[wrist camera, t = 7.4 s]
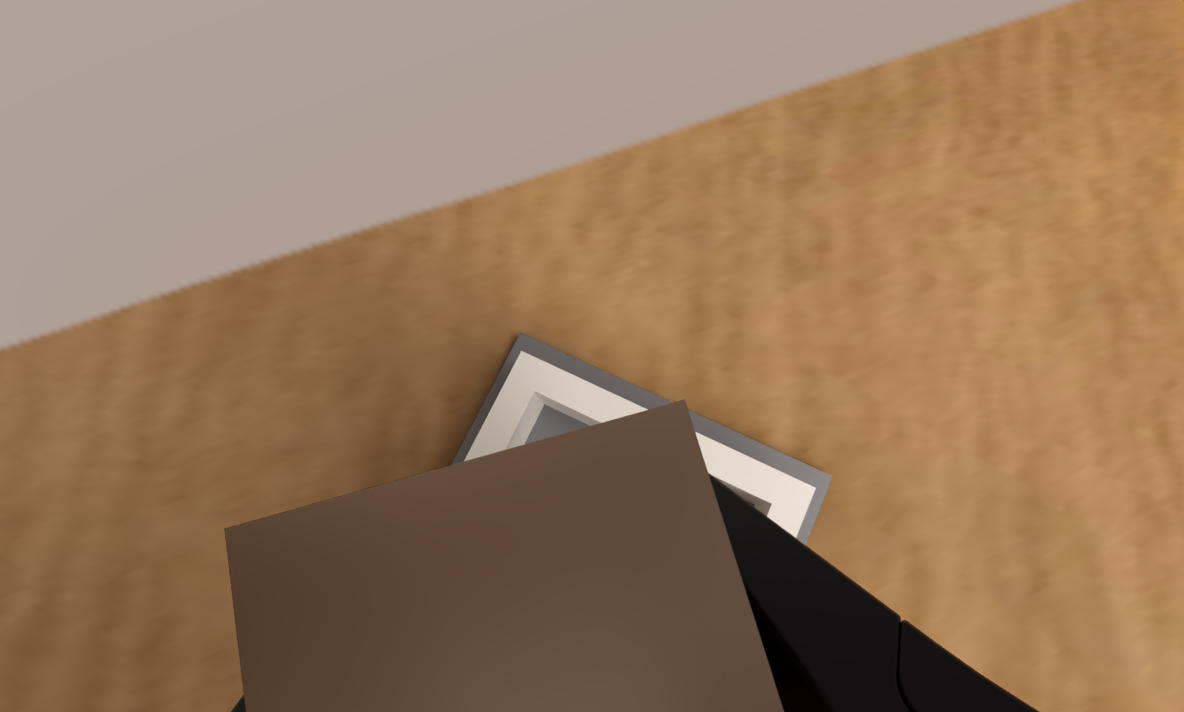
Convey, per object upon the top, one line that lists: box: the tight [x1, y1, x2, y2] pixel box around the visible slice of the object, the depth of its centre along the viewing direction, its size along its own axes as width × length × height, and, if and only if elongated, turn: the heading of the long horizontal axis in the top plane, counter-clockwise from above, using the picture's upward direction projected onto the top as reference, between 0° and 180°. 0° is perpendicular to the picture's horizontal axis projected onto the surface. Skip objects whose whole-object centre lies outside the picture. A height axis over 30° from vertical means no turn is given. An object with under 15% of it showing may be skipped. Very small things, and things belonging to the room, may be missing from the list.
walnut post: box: [224, 400, 784, 712], centre depth 10 cm, size 4×4×10 cm
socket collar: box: [451, 333, 833, 545], centre depth 20 cm, size 12×12×3 cm
